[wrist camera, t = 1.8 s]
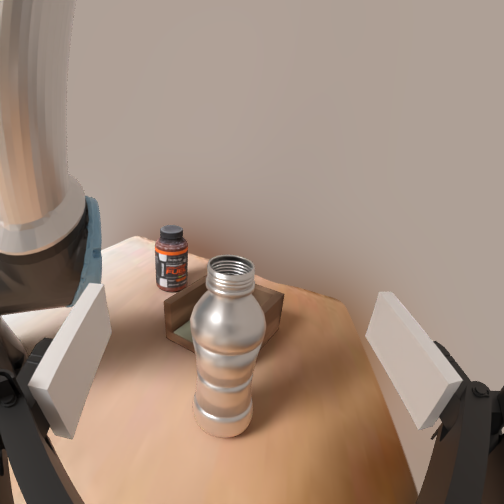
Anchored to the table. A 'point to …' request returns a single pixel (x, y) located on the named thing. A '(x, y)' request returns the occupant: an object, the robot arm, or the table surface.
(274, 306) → the u rest
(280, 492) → the table surface
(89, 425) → the table surface
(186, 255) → the supplement bottle
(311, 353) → the table surface
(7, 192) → the robot arm
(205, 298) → the aluminum water bottle
